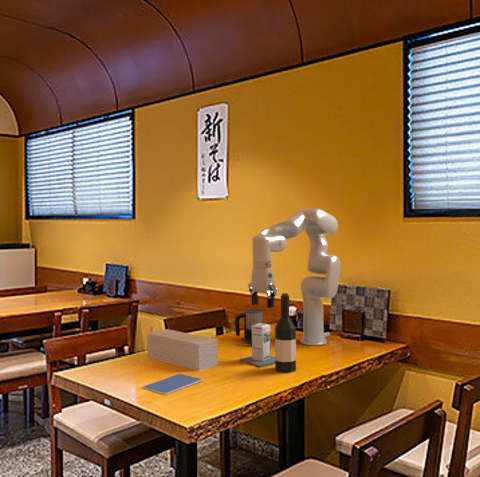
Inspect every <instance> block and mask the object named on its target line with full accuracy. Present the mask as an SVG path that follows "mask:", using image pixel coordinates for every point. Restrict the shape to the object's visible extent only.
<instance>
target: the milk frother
mask: <svg viewBox="0 0 480 477" xmlns="http://www.w3.org/2000/svg"><path fill="white" fill-rule="evenodd" d="M263 313H264V310H263V309H256V308H251V309H250V308H249V309H245V310H244V312H241V313H238V314H237V315H236V316H235V318H234V325H235V335H236V337H240V335H241V330H240V329H241V328H240V327H241V326H240V320H241V319H243V318H244V320H243V321H244V322H243V323H244V325H243V329H244V330H243V333H244V334H243V336H244V337H241V338H240V340H241V341H243V342H244V343H246V344H248V345H250V346H252V325H256V324H259V323H263V318H264V317H263V316H264V315H263Z"/></svg>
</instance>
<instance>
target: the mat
mask: <svg viewBox="0 0 480 477" xmlns="http://www.w3.org/2000/svg"><path fill="white" fill-rule="evenodd" d="M239 361H240V362H242V363H246V364H248V365H250V366H251V365H252V366H254V365H255V366H254V367H257V368H264V367H268V366H271V365H275V356H272V355H271V359H268V360H265V361H257V360H253V359H252V355H251V356H247V357H242V358H239Z"/></svg>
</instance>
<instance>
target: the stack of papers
mask: <svg viewBox="0 0 480 477" xmlns="http://www.w3.org/2000/svg"><path fill="white" fill-rule="evenodd" d="M146 335H147V336H146V337H147V340H146V341H147V342H146V343H147V345H146V346H147V351H146V352H147V358H149V359H153V360H156V361H161V362H165V363H168V364H172V365H175V366H178V367H183V368H186V369H191V370H194V371H197V372H200V371H204V370H207V369H211V368H212V367H216V366H218V365H219V347H218V346H219V342H218V341H219V340H218V339H216V338H211V337H208V336H204V335H203V336H202V335H199V334H192V333H188V332H183V331H178V330H173V329H168V328H165V329H160V330H156V331H150V332H147V333H146Z"/></svg>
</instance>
